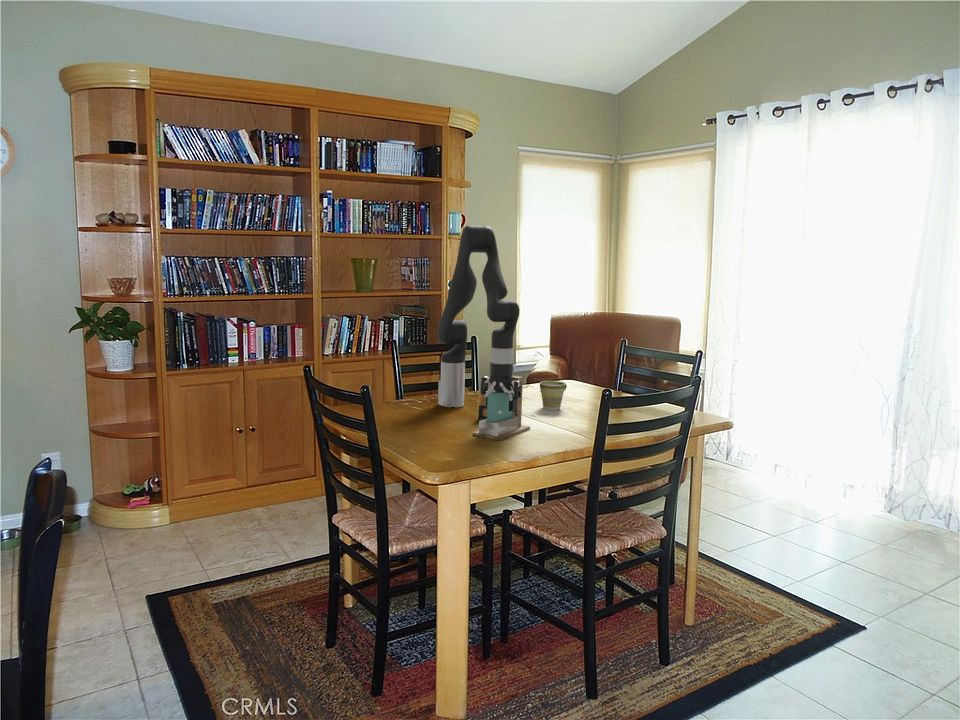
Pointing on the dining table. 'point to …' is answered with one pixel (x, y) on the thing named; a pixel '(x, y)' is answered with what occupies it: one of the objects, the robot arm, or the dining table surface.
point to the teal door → (498, 407)
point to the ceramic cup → (552, 394)
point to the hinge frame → (504, 422)
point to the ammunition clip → (482, 407)
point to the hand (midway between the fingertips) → (500, 409)
